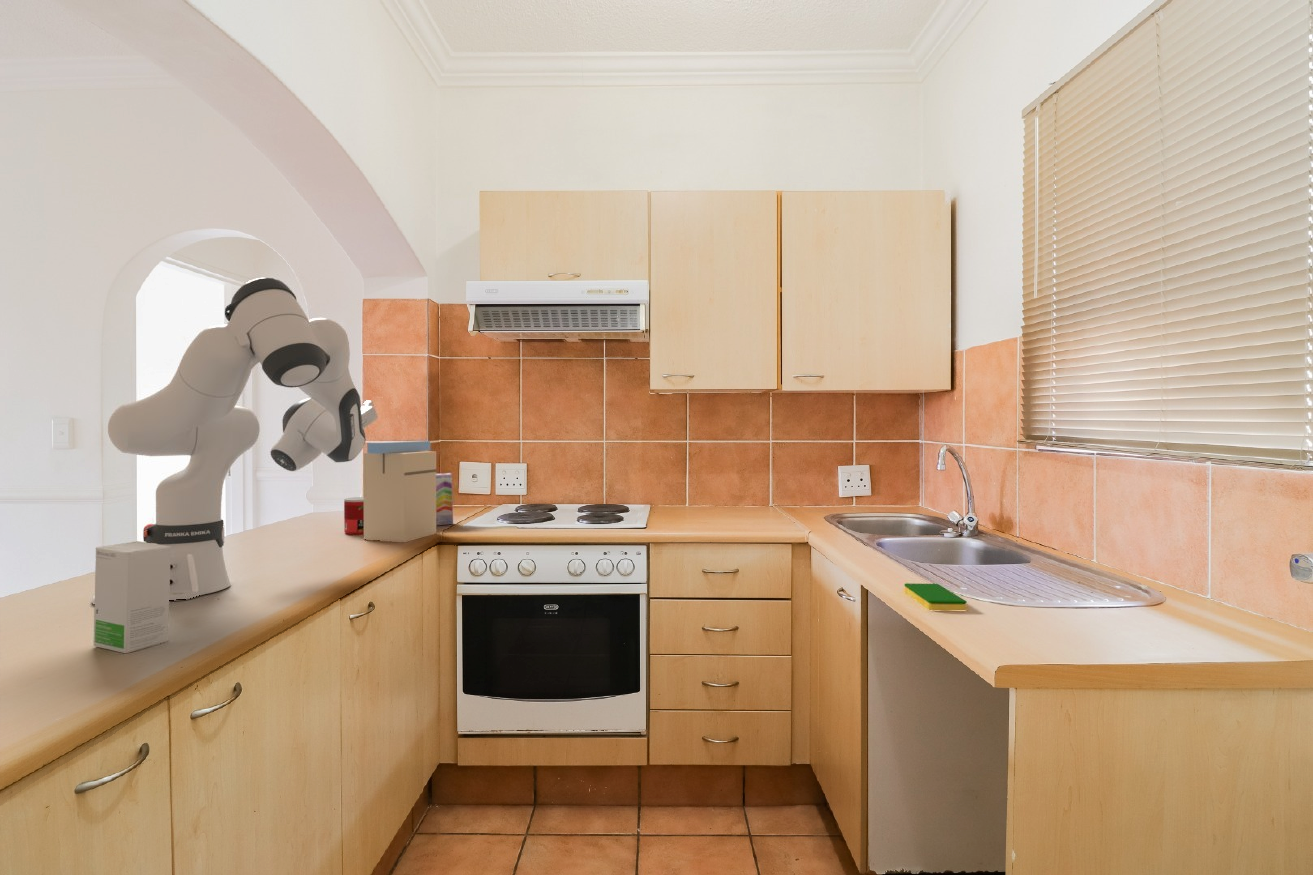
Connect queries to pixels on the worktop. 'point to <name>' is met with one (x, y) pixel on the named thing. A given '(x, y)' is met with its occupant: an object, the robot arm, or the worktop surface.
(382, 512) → the kraft carton
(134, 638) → the skincare box
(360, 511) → the canned food
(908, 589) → the dish sponge
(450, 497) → the cake pan box
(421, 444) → the bar
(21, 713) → the worktop surface
